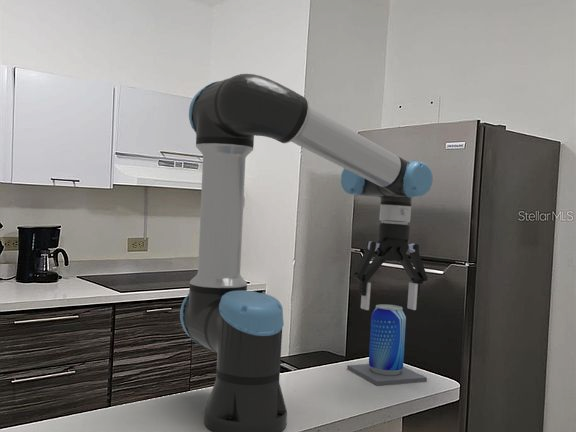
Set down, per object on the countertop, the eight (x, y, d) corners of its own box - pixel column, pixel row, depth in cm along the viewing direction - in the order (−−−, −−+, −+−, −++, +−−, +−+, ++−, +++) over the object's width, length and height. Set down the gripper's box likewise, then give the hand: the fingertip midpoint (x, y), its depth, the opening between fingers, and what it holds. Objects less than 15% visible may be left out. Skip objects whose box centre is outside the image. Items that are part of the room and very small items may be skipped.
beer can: (362, 370, 144) (365, 305, 144) (378, 364, 151) (381, 302, 150) (393, 378, 139) (397, 310, 139) (408, 371, 146) (412, 307, 145)
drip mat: (376, 385, 136) (377, 381, 136) (347, 369, 148) (347, 365, 148) (426, 381, 141) (426, 377, 141) (393, 366, 154) (394, 362, 154)
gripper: (358, 220, 136) (352, 312, 136) (445, 226, 146) (439, 311, 146) (342, 219, 143) (336, 306, 143) (426, 225, 153) (421, 306, 153)
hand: (388, 309), depth 144 cm, fingers open, 13 cm apart
